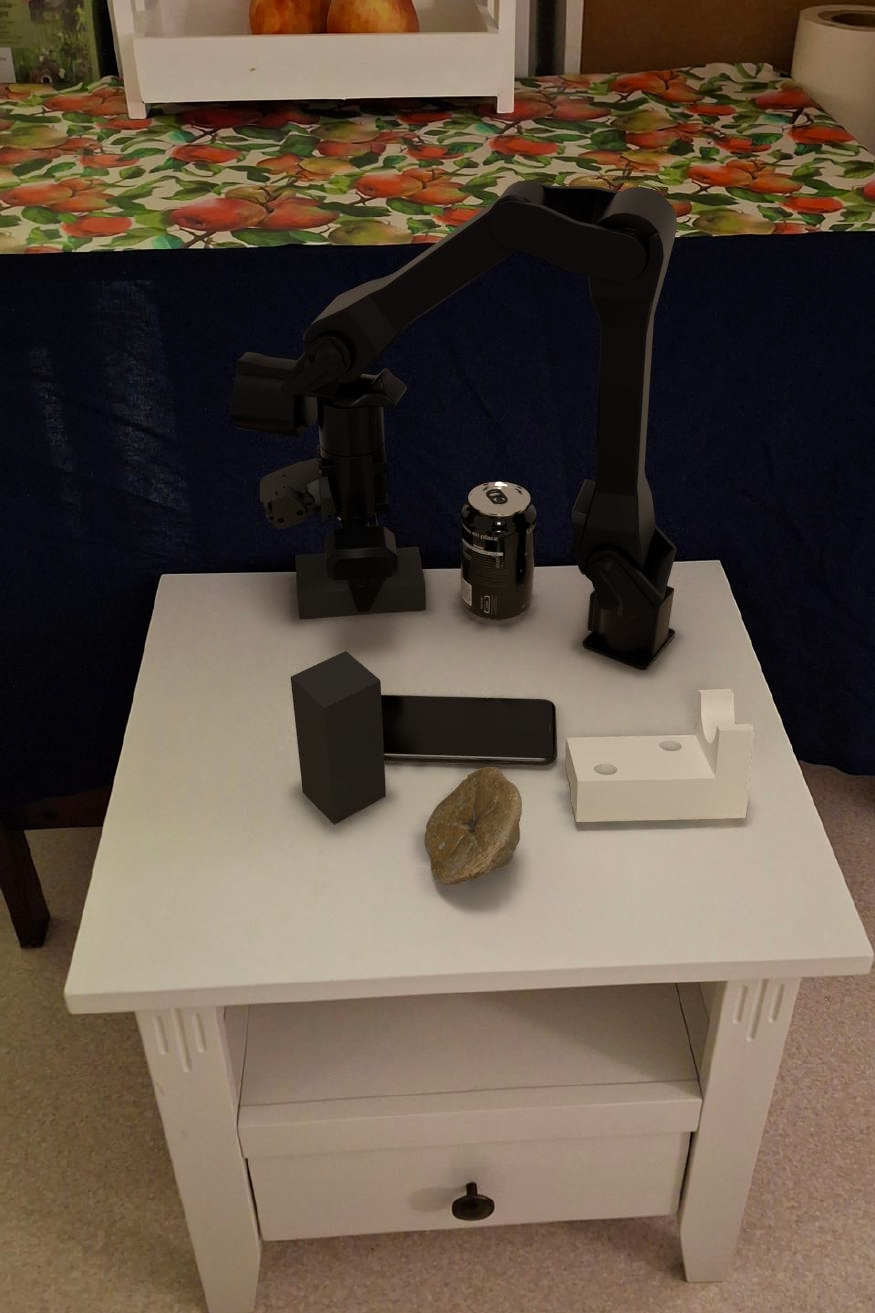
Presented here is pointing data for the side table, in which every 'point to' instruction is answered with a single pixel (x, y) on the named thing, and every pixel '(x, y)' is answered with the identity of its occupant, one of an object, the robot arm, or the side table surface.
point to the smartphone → (469, 730)
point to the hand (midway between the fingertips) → (360, 585)
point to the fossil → (474, 827)
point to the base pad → (335, 596)
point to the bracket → (666, 770)
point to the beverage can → (497, 551)
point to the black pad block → (339, 735)
